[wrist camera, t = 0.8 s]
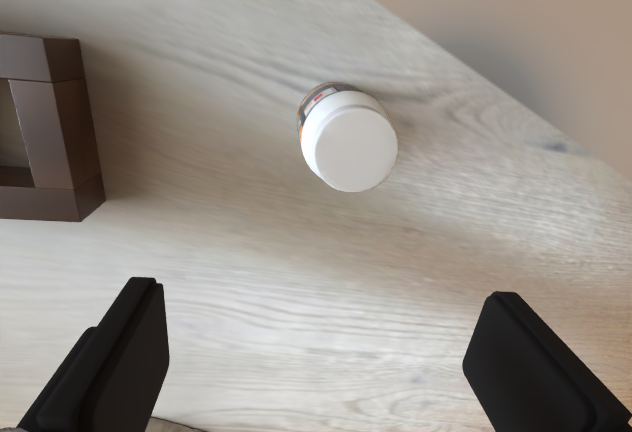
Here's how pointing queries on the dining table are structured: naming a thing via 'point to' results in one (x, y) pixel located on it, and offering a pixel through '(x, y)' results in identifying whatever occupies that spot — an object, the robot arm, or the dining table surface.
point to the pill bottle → (346, 137)
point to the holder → (50, 131)
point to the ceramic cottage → (167, 426)
